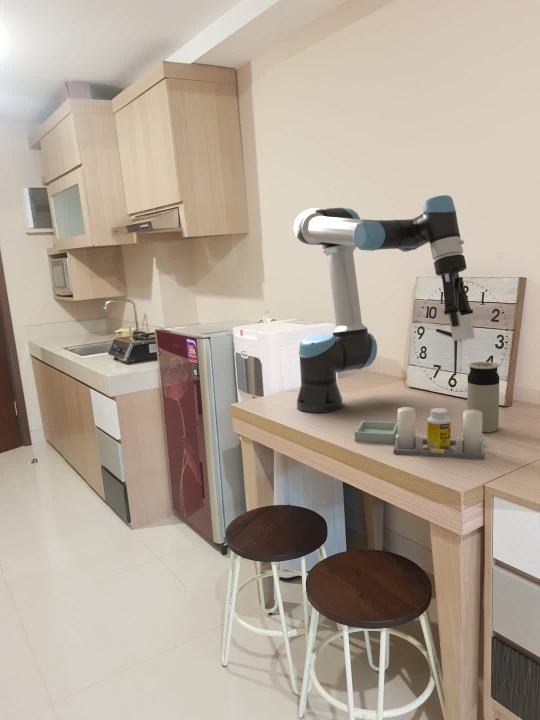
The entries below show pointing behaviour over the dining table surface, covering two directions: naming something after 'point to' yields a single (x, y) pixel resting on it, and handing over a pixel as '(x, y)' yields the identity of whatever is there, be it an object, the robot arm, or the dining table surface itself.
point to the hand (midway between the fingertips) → (464, 339)
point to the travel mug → (484, 393)
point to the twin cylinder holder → (471, 440)
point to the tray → (376, 431)
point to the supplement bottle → (438, 430)
